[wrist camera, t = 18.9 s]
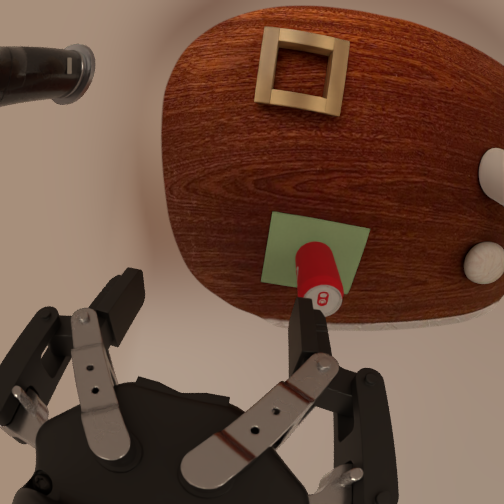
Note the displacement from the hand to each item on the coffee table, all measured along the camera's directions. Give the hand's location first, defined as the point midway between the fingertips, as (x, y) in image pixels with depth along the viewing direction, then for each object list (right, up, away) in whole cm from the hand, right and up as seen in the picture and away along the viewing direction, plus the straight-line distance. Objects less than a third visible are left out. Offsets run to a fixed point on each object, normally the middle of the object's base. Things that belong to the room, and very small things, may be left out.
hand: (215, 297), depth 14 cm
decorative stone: (+48, +1, +28) cm, 56 cm away
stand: (+9, +27, +18) cm, 33 cm away
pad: (+12, +2, +31) cm, 34 cm away
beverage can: (+12, +2, +31) cm, 33 cm away
